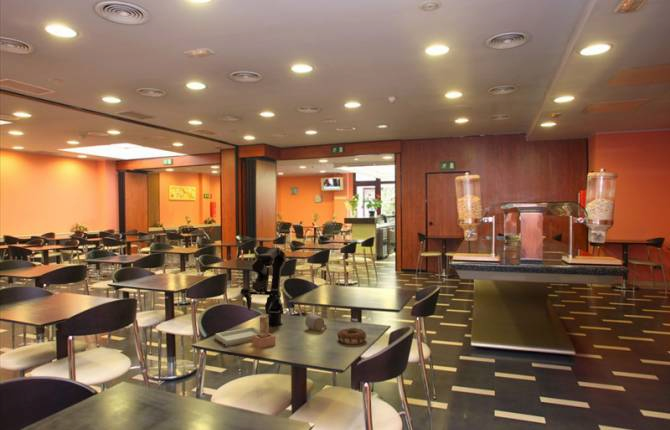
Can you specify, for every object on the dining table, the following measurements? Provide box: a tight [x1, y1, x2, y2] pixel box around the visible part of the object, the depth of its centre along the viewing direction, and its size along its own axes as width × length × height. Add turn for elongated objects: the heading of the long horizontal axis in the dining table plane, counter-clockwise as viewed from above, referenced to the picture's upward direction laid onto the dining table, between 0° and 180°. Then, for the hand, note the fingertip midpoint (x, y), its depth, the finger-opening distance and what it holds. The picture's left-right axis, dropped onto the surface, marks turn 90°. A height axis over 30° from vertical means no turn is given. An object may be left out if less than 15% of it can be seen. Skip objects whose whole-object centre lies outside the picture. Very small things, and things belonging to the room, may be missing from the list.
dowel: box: [259, 316, 270, 338], centre depth 195 cm, size 4×4×12 cm
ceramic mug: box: [304, 313, 328, 332], centre depth 221 cm, size 11×8×8 cm
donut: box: [336, 327, 367, 345], centre depth 202 cm, size 14×14×5 cm
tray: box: [215, 326, 260, 347], centre depth 204 cm, size 20×14×2 cm
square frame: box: [252, 332, 276, 349], centre depth 195 cm, size 8×8×4 cm
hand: (258, 310), depth 199 cm, fingers open, 9 cm apart
